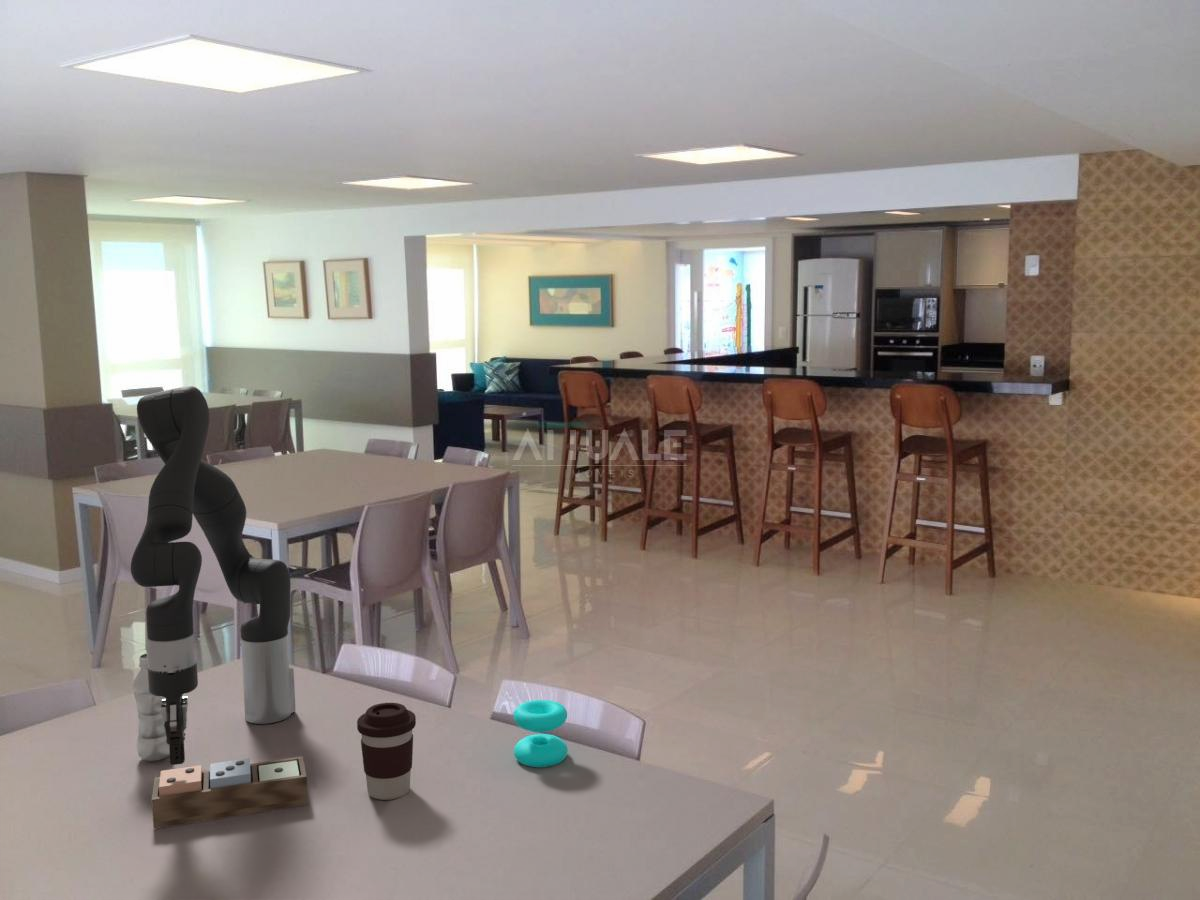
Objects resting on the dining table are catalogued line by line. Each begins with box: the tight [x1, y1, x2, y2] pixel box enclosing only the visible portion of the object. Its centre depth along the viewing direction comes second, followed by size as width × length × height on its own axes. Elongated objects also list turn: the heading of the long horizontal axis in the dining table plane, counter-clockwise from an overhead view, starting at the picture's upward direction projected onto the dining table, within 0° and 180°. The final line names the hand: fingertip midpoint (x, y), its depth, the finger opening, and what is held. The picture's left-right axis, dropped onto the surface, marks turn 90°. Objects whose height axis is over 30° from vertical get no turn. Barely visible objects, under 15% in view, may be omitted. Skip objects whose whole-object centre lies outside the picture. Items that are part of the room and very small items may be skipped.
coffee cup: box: [356, 702, 417, 801], centre depth 181 cm, size 10×10×15 cm
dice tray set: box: [151, 755, 309, 829], centre depth 177 cm, size 24×9×5 cm, turn 110°
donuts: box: [513, 699, 569, 768], centre depth 195 cm, size 10×10×10 cm
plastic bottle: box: [132, 652, 170, 762], centre depth 195 cm, size 6×7×20 cm
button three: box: [209, 758, 251, 789], centre depth 177 cm, size 6×6×3 cm
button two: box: [159, 764, 203, 797], centre depth 174 cm, size 6×6×3 cm
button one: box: [259, 760, 299, 782], centre depth 179 cm, size 6×6×3 cm
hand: (177, 762), depth 173 cm, fingers closed
